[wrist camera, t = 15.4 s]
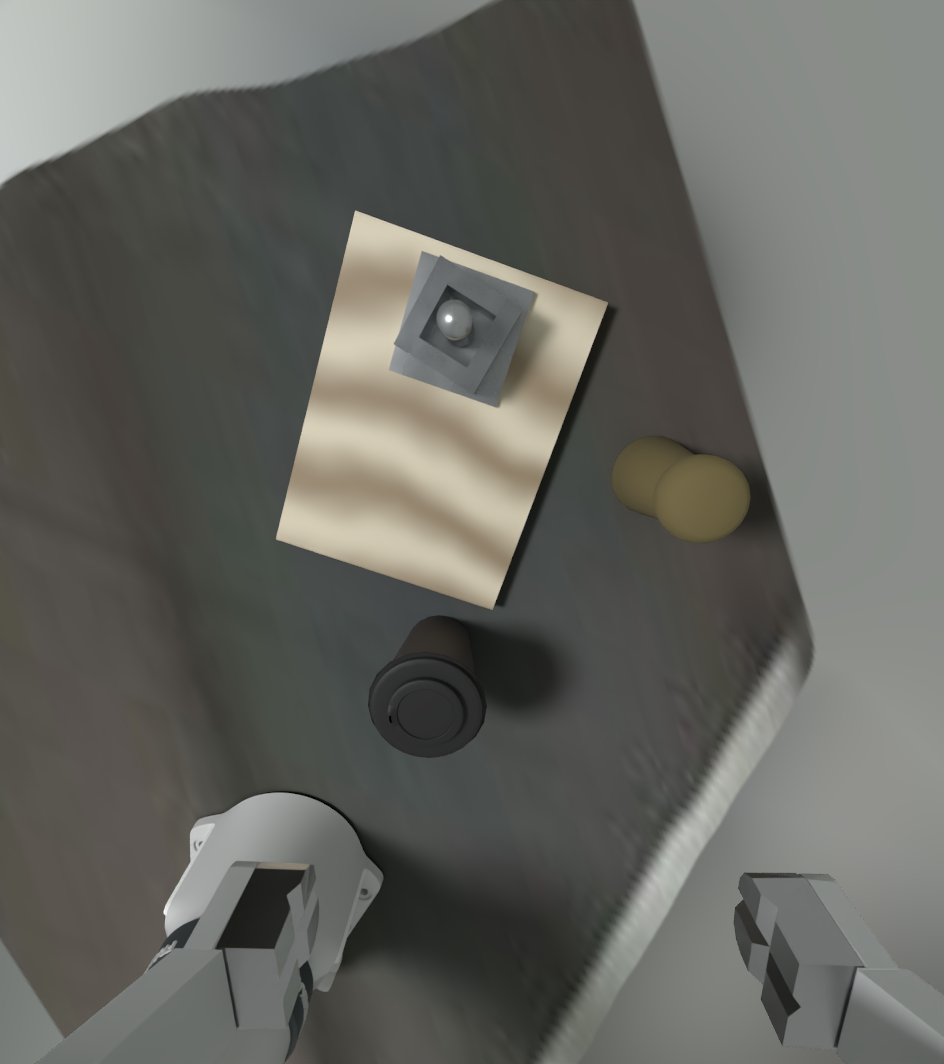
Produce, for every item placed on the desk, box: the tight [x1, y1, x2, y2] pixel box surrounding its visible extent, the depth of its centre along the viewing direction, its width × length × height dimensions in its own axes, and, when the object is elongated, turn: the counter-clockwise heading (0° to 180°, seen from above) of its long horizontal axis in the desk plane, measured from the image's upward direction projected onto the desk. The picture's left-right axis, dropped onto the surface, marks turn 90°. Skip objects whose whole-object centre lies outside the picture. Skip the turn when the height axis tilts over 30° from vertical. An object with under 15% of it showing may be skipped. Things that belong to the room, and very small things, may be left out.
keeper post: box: [389, 251, 534, 407], centre depth 32 cm, size 8×8×6 cm
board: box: [276, 211, 608, 610], centre depth 37 cm, size 24×18×1 cm
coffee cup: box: [368, 616, 487, 758], centre depth 38 cm, size 8×8×10 cm
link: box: [394, 255, 523, 395], centre depth 33 cm, size 6×6×3 cm
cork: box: [612, 436, 751, 543], centre depth 33 cm, size 6×6×11 cm
